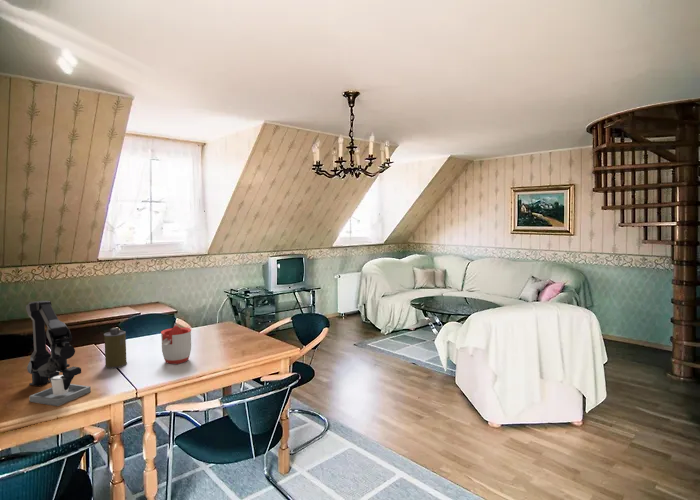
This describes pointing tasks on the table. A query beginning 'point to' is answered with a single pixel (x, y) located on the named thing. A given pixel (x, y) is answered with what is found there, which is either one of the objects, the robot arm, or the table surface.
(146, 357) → the table surface
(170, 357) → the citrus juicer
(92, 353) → the table surface
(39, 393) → the tray
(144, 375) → the table surface
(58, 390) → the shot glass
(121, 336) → the canister
